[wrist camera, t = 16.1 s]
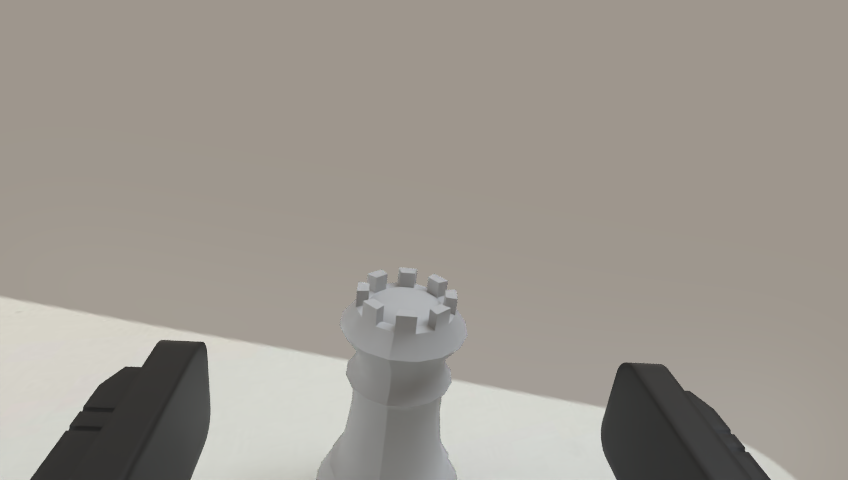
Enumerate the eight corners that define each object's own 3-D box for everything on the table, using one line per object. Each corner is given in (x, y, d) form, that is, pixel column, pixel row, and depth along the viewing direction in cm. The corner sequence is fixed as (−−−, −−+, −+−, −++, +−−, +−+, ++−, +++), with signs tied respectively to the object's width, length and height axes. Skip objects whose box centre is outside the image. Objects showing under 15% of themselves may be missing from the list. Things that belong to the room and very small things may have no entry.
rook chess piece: (445, 609, 15) (489, 358, 12) (285, 569, 15) (286, 318, 12) (464, 479, 19) (501, 267, 16) (337, 451, 19) (348, 242, 16)
